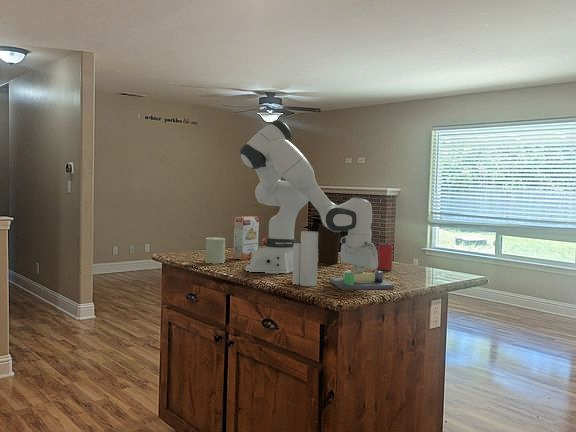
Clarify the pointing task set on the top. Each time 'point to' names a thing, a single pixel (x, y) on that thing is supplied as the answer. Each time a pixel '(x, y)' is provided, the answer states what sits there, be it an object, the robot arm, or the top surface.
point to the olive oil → (328, 246)
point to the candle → (305, 259)
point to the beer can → (385, 256)
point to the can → (215, 250)
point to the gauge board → (358, 283)
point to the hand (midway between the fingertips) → (358, 277)
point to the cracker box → (245, 237)
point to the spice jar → (369, 277)
